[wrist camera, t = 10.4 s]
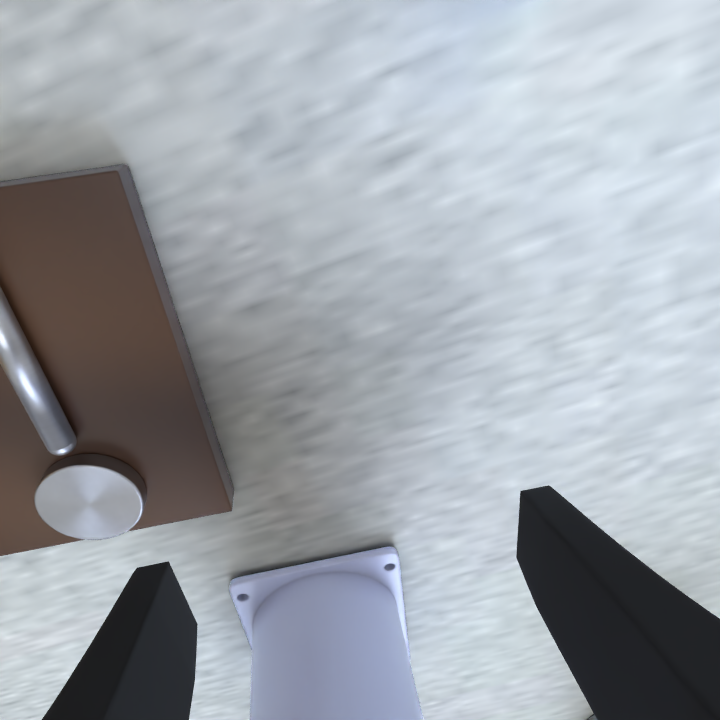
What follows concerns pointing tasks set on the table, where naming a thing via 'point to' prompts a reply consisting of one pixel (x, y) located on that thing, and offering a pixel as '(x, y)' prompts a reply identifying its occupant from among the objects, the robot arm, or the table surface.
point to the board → (100, 353)
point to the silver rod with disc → (75, 473)
